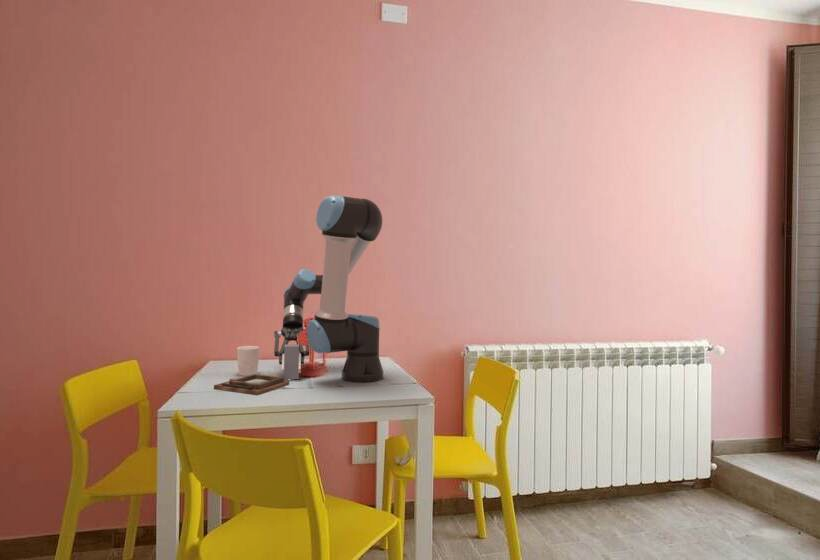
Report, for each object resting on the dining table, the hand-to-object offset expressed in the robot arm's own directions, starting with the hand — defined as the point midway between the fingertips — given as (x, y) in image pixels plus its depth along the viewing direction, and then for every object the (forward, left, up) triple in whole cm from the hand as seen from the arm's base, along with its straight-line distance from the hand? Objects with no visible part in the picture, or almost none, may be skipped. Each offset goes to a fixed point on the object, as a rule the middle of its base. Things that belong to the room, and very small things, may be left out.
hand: (291, 371), depth 179 cm
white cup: (+21, -2, -4) cm, 22 cm away
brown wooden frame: (+6, +13, -3) cm, 15 cm away
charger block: (+2, -3, -3) cm, 5 cm away
